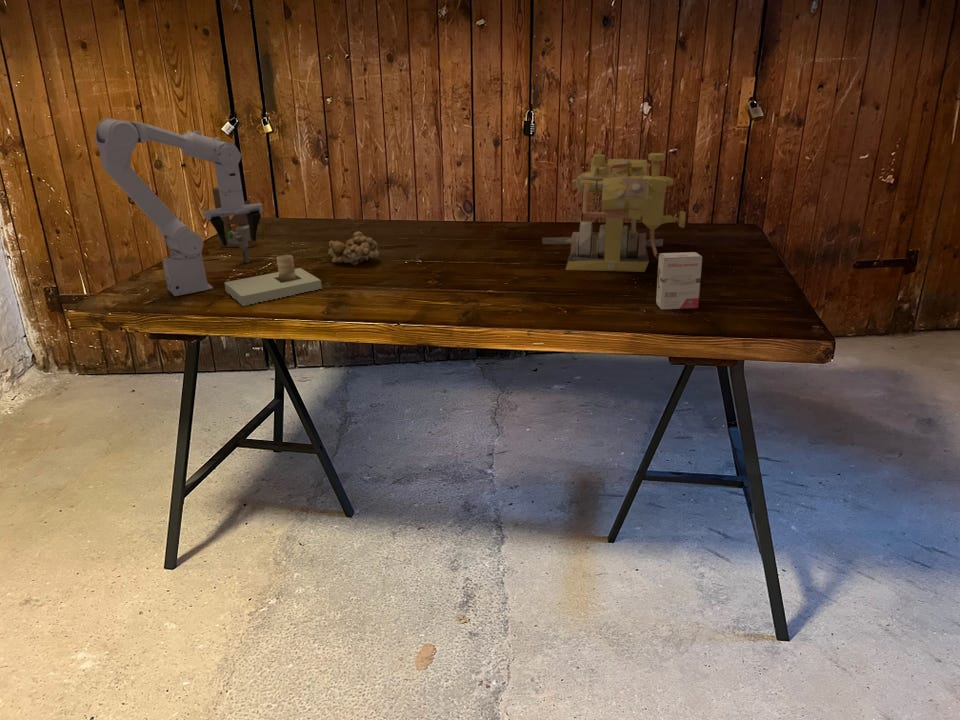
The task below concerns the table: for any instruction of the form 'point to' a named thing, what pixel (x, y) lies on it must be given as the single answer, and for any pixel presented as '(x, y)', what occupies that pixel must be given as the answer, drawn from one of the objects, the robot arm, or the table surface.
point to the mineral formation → (353, 249)
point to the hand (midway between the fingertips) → (239, 242)
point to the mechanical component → (241, 240)
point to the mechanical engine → (619, 215)
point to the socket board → (270, 287)
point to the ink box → (678, 280)
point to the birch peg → (286, 268)
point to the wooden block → (236, 219)
